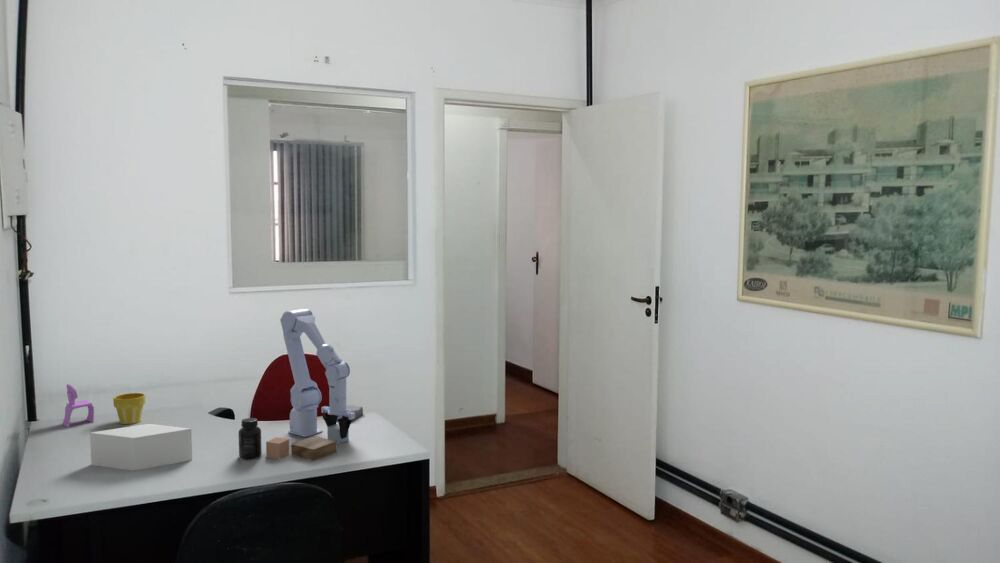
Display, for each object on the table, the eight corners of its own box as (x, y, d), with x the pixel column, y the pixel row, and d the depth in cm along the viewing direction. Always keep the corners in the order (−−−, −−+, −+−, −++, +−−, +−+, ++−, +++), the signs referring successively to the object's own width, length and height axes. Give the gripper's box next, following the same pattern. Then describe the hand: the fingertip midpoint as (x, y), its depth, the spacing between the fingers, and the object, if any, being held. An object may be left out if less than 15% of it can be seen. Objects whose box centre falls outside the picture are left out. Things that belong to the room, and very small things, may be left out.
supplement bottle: (266, 454, 225) (265, 418, 224) (252, 461, 218) (251, 423, 217) (248, 451, 227) (247, 415, 226) (234, 458, 220) (233, 421, 219)
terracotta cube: (266, 457, 223) (266, 441, 222) (276, 452, 227) (276, 437, 227) (279, 459, 221) (279, 443, 221) (289, 454, 226) (289, 439, 225)
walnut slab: (291, 456, 225) (291, 444, 224) (314, 447, 233) (314, 436, 233) (313, 462, 219) (313, 449, 219) (336, 453, 228) (336, 441, 228)
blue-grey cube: (327, 440, 239) (327, 426, 239) (338, 437, 244) (338, 423, 243) (337, 443, 237) (337, 429, 236) (348, 439, 241) (348, 425, 240)
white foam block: (186, 468, 212) (185, 435, 211) (81, 473, 206) (80, 440, 205) (197, 452, 226) (196, 421, 225) (100, 457, 220) (98, 425, 219)
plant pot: (121, 418, 262) (120, 392, 261) (150, 417, 263) (149, 392, 262) (109, 426, 252) (108, 399, 251) (139, 425, 253) (138, 399, 252)
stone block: (328, 425, 263) (353, 422, 261) (326, 412, 263) (350, 409, 261) (342, 417, 275) (365, 414, 273) (340, 405, 275) (363, 402, 273)
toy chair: (96, 422, 256) (94, 382, 254) (69, 428, 249) (67, 387, 248) (87, 418, 261) (86, 379, 260) (61, 423, 254) (59, 383, 253)
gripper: (314, 396, 239) (314, 435, 241) (343, 403, 231) (344, 443, 233) (330, 392, 245) (330, 430, 246) (359, 399, 237) (359, 437, 238)
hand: (338, 436), depth 240 cm, fingers closed on blue-grey cube, 5 cm apart
